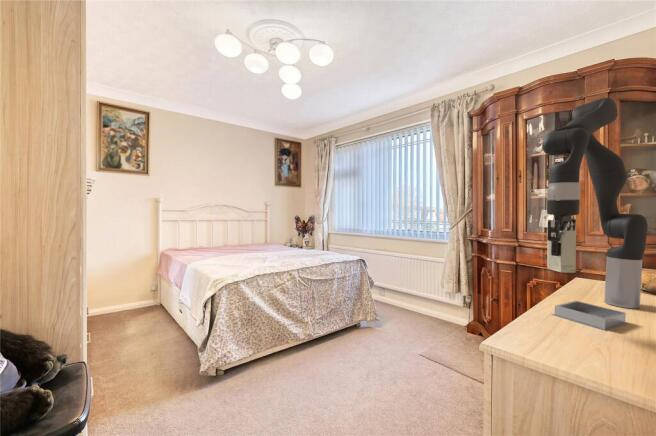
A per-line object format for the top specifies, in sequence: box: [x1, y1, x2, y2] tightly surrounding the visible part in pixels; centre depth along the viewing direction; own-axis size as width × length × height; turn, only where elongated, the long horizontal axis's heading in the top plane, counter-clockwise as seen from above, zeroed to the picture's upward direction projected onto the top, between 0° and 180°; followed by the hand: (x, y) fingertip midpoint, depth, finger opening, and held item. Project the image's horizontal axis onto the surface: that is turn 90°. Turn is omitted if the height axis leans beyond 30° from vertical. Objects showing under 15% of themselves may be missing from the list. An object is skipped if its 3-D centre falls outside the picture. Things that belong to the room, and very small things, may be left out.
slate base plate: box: [550, 310, 630, 332], centre depth 92 cm, size 14×14×1 cm
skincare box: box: [546, 229, 577, 274], centre depth 87 cm, size 6×4×12 cm
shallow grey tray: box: [553, 300, 627, 331], centre depth 92 cm, size 13×13×3 cm
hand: (561, 254), depth 88 cm, fingers closed on skincare box, 7 cm apart
